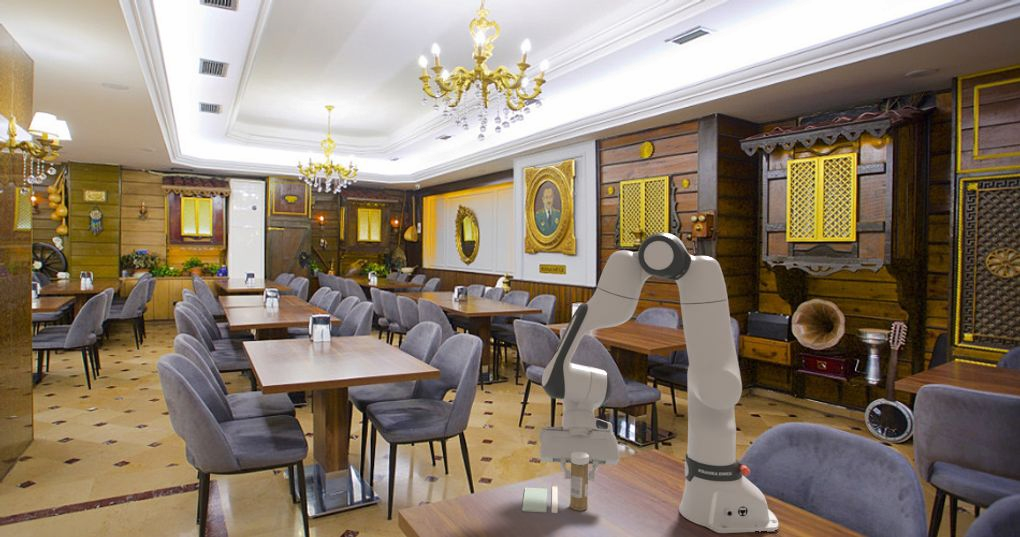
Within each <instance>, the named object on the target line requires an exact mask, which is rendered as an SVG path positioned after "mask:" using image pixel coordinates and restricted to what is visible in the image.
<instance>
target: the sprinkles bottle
mask: <svg viewBox="0 0 1020 537" xmlns="http://www.w3.org/2000/svg"><path fill="white" fill-rule="evenodd" d="M588 463H589V455H588V454H587V453H584V452H573V453H572V454H571V463H570V483H569V484H570V485H569V486H570V488H569V489H570V491H569V493H570V503H569V507H570V508H571V509H572V510H575V511H577V512H578V511H579V512H580V511H581V512H582V511H585V510H587V509H588V507H589V505H588V494H589V493H588V492H589V480H588V478H589V477H588V473H589V464H588Z"/></svg>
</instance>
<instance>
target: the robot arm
mask: <svg viewBox="0 0 1020 537" xmlns="http://www.w3.org/2000/svg"><path fill="white" fill-rule="evenodd" d="M650 277H655V278H659V279H665V280H671V281H674V282H676V285H677V288H678V293H679V302H680V303H679V304H680V310H681V318H682V326H683V335H684V341H685V346H686V351H687V357H688V358H687V359H688V367H687V374H686V375H687V377H686V378H687V379H686V380H687V381H686V382H687V420H688V421H687V423H688V424H687V426H688V427H687V428H688V429H687V453H685V459H684V477H685V481H684V482H685V483H684V490H683V494H682V498H681V501H680V504H679V507H678V511H679V513H680V514H681V515H682V517H683V518H685V519H687V520H688V521H690V522H692V523H694V524H697V525H699V526H702V527H705V528H708V529H710V530H711V531H713V532H715V533H718V534H734V533H736V534H737V533H756V532H755V531H759V533H761V531H767V532H776V531H775V530H777V529H778V530H779V528H780V527H779V520H778V518H777V516H776V514H774V513H773V512H772V510H770V509H769V507H768V502H767V500H766V497H765V495H764V493H763V492H762V491H761V490H760V489H759V488H758V487H757V486H756V485H755V484H754V483H753V482H751V481H750V480H749V479H748V478H747V477H748V476H749V475H751V469H750V467H748V466H747V465H746V464H743V462H741V461H740V460H739V459H737V458H736V446H737V444H736V442H737V440H736V439H737V438H736V437H737V426H736V418H735V416H736V414H735V406H736V405H737V404H738V402H739V401H740V399H741V397H742V393H743V383H742V377H741V370H740V366H739V360H738V355H737V350H736V345H735V341H734V336H733V335H734V334H733V329H732V320H731V315H730V307H729V306H730V305H729V299H728V292H727V285H726V282H725V278H724V273H723V272H722V268H721V265H720V263H719V262H718V261H717V259H715V258H714V257H710V256H708V255H692V254H690V253H689V252H688V249H687V246H686V244H685V243H684V241H683V240H681V239H680V238H679V237H678V236H676V235H674V234H672V233H669V232H656V233H653V234H650V235H648V236H647V237H646V238H645V239H643V241H641V243H640V245H639V247H638V251H631V250H625V249H621V250H617V251H614V252H613V253H611V254H610V255H609V258H608V259H607V260H606V263H605V266H604V268H603V269H602V272H601V275H600V278H599V280H598V282H597V287H596V290H595V291H594V293H593V295H592V297H591V298H590V299H589V300H588V301H587V302H586V303H583V304H580V305H579V306H578V307H577V309H576V310H575V312H574V313H573V315H572V316H571V318H570V320H569V322H568V324H567V326H566V328H565V330H564V332H563V334H562V337H561V339H560V341H559V343H558V345H557V347H556V349H555V350H554V353H553V355H552V356H551V358H550V359H549V361H548V362H547V365H546V367H545V368H544V370H543V373H542V375H541V376H542V377H541V387H542V388H543V391H544V392H545V393H546V394H547V395H548V396H549V398H551V399H556V400H557V399H558V400H562V406H563V413H562V420H561V424H562V425H561V426H545V427H544V428H542V429H540V431H539V436H538V437H539V438H538V439H539V441H540V449H539V458H540V460H541V461H542V462H544V463H557V464H558V463H559V468H560V469H561V471H562V472H563V473H564V474H563V475H564V480H571V469H567V467H566V466H567V464H571V454H572V453H573V452H584V453H587V454H588V455H589V463H588V465H592V470H588V481H592V482H595V474H596V473H597V471H598V470H599V465H601V466H602V465H604V466H617V464H618V463H619V461H620V452H619V445H618V440H617V437H616V436H615V434H614V433H613V424H612V423H611V422H609V421H605V420H603V419H600V418H597V417H595V416H596V415H595V409H599V408H601V407H602V406H604V405H605V404H607V402H609V401H610V399H611V398H612V393H613V384H612V383H613V382H612V379H611V376H610V375H609V373H608V372H607V371H606V370H604V369H601V368H597V367H593V366H586V365H582V364H578V363H574V362H571V360H572V358H573V356H574V355H575V352H576V350H577V349H578V346H579V345H580V342H581V341H582V338H583V337H584V336H585V335H587V334H588V333H590V332H591V331H592V332H593V331H595V330H600V329H606V328H607V329H608V328H613V327H618V326H620V325H623V324H625V323H626V322H628V321H629V320H630V319H631V318H632V317H633V315H634V314H635V311H636V310H637V306H638V303H639V300H640V296H641V293H642V292H641V291H642V289H643V288H644V284H645V282H646V281H647V279H649V278H650ZM778 527H779V528H778ZM778 530H777V531H778Z"/></svg>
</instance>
